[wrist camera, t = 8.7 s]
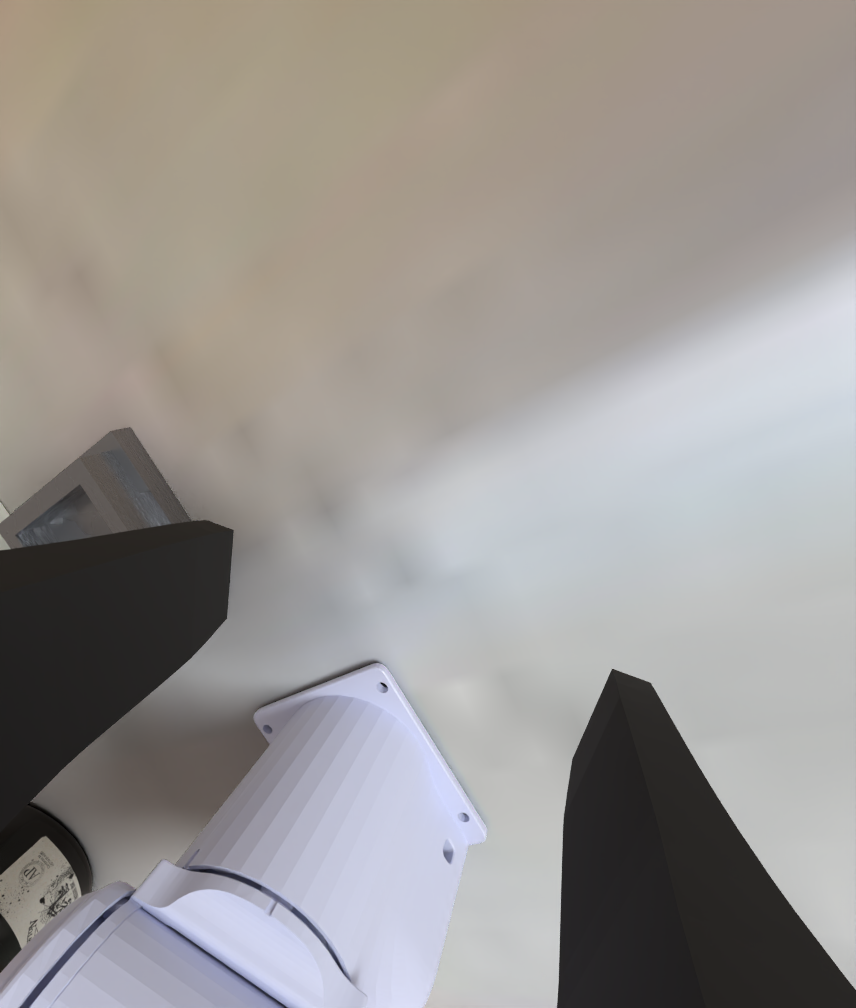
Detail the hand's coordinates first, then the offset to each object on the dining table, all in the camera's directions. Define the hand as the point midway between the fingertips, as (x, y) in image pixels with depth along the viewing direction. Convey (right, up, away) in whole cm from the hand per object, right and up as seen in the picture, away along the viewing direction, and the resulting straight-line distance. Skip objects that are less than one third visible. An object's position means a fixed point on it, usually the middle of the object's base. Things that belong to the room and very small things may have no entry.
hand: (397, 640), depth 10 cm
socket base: (-14, +1, +16) cm, 21 cm away
